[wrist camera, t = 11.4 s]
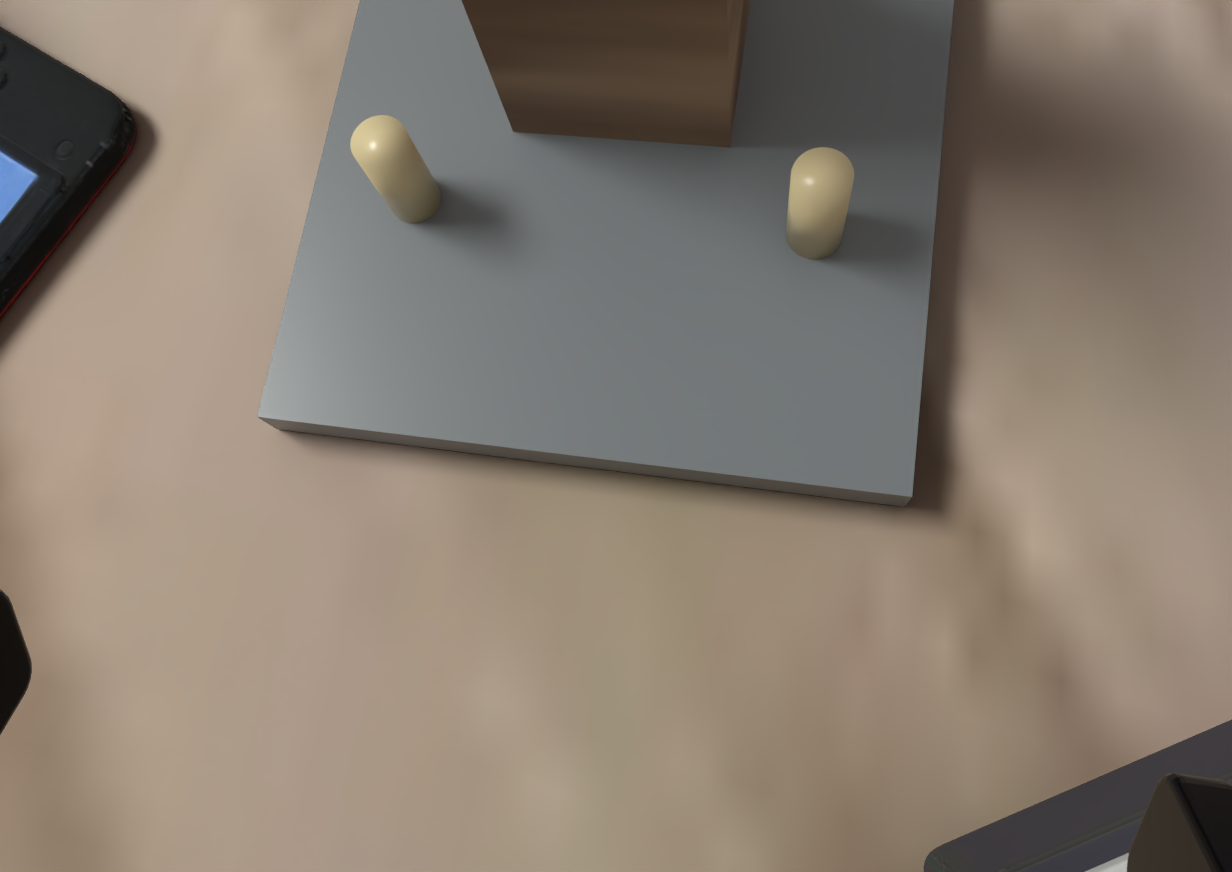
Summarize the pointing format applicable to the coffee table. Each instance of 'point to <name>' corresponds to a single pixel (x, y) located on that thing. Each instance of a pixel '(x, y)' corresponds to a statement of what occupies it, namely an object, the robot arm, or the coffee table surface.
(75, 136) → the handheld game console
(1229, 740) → the grey and red box
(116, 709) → the coffee table surface
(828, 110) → the plate
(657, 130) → the walnut block
